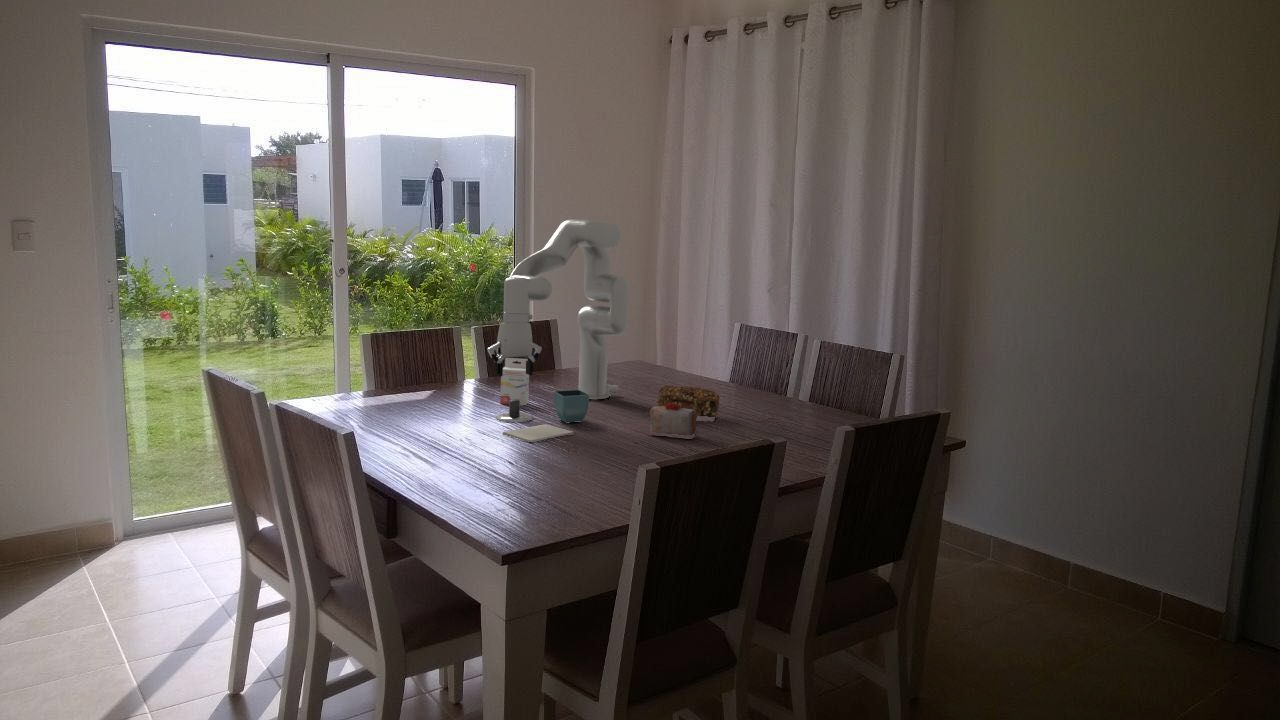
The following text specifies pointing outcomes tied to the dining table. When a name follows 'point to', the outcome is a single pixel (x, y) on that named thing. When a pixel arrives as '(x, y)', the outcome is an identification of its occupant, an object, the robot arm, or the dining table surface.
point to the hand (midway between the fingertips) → (514, 375)
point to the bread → (690, 399)
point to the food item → (673, 420)
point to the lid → (514, 413)
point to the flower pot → (571, 404)
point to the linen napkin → (536, 432)
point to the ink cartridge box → (514, 382)
